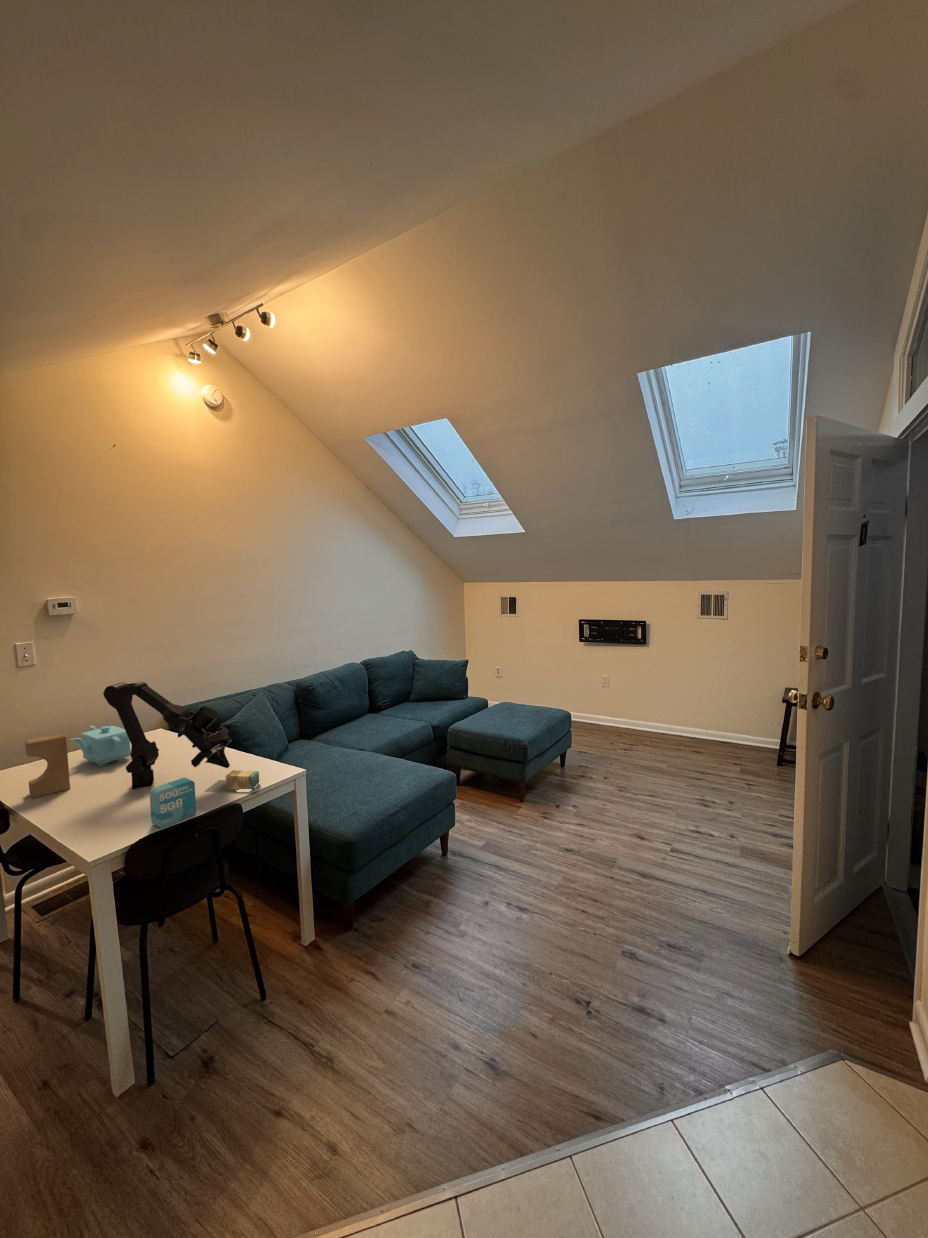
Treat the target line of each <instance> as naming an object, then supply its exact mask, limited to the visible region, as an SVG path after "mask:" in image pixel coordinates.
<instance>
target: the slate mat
mask: <svg viewBox="0 0 928 1238" xmlns="http://www.w3.org/2000/svg"><path fill="white" fill-rule="evenodd" d="M236 790H239V789H226V779H218V780H217V781H216V782H214V783H213V784H212V785H210V786H209V787H207V788H206V789H205V790H204V791H203V792H204V793H206V792H208V793H234V794H235V793H236V792H237V791H236Z"/></svg>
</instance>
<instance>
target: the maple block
mask: <svg viewBox="0 0 928 1238" xmlns="http://www.w3.org/2000/svg"><path fill="white" fill-rule="evenodd" d="M225 780H226V789H253V788H254V787H255V786H256V785H257V784H258V783H259V781H260V771H258V770H236V769H235V770H231V771H230V772H229V773H227V774H226V775H225Z"/></svg>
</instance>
